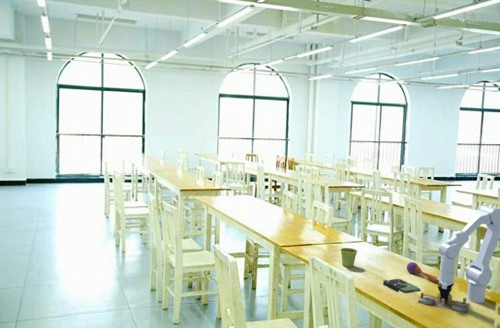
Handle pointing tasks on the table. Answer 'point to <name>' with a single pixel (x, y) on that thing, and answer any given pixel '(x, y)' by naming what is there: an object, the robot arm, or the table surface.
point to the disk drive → (400, 285)
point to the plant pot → (348, 256)
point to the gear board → (452, 305)
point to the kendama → (420, 271)
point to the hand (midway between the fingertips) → (444, 300)
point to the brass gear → (448, 298)
